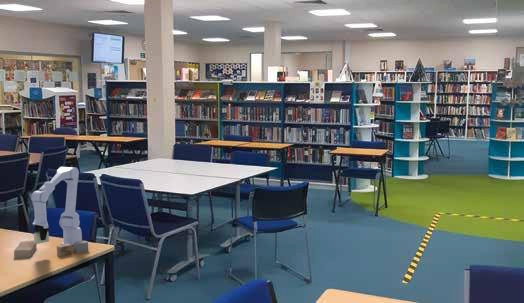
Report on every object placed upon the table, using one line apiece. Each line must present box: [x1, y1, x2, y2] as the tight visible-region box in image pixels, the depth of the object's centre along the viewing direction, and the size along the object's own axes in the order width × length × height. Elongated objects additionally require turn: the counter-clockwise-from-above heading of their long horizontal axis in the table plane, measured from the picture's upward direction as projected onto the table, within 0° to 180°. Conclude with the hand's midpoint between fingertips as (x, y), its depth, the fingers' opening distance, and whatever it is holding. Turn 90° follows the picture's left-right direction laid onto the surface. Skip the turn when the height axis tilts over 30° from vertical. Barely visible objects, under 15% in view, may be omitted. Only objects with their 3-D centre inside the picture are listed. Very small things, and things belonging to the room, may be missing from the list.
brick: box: [13, 240, 38, 259], centre depth 275 cm, size 17×8×5 cm, turn 13°
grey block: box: [73, 240, 89, 254], centre depth 278 cm, size 6×4×5 cm, turn 133°
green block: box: [33, 231, 50, 245], centre depth 268 cm, size 6×4×5 cm, turn 133°
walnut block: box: [56, 243, 72, 257], centre depth 273 cm, size 6×4×5 cm, turn 133°
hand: (41, 239), depth 268 cm, fingers closed on green block, 4 cm apart
